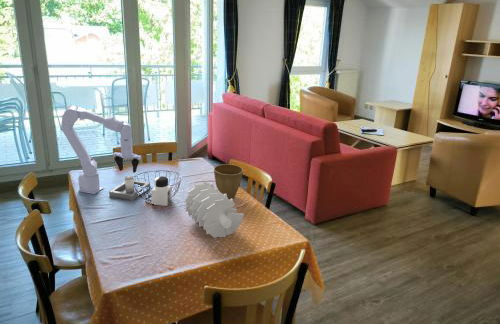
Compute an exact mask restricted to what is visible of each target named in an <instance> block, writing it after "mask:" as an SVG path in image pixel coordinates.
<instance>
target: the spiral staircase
mask: <svg viewBox="0 0 500 324" xmlns="http://www.w3.org/2000/svg"><path fill="white" fill-rule="evenodd" d="M187 194H188V196H187V197H186V198H185V200H184V203H185V204H186V205H185V212H187V214H188V217H191V219H193V220H194V223H195V224H196V223H198V225H199V226H198V227H200V228H201V227H203V230H205V233H206V235H210V236H211V237H213V238H214V239H217V238H226V236H230V235H231V234H233V233H235V232H236V230H237V229H238V228H239V227H240V226H241V224H242V221H243V218H244V216H245V213H238V212H237V210H238V209H237V208H233V207H236V204H235V202H234V199H230V200H229V199H228V198H227V194H222V193H221V192H220V191H219V190H218V188H217V186H216V187H214V184H213V182H210V183H208V182H207V181H203V182H202V183H196V184H195V185H194V187H193V188H192V189H190V190H188V191H187Z"/></svg>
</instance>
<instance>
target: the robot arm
mask: <svg viewBox="0 0 500 324" xmlns="http://www.w3.org/2000/svg"><path fill="white" fill-rule="evenodd" d="M78 120H79V121H84V120H89V121H92V122H96V123H98V124H101V125H103V127H104V128H105V129H108V130H110V131H114V132H116V133H119V135H120V139H119V140H120V152H113V155H112V156H113V158H114V161H115V163H116V164H117V166H118V169H119V171H121V172H122V171H123V170H124V163H123V162H124V159H131V160H130V161H131V166H132V173H134V174H135V173H136V172H137V168H138V165H139V163H140V161H141V160H142V155H138V154H136V153H133V152H134V151H133V137H132V134H133V129H132V125H131V124H130V123H129V122H127V121H123V120H119V119H116V118H115V116H111V117H110V116H107V117H105V116H102V115H100V114H97V113H94V112H92V111H90V110H88V109H85V108H84V107H79V106H77V105H74V104H73V105H68V106H67V107H66V109H65V111H64V113H63V115H62V116H61V124H60V125H61V127H60V129H61V131H62V133H63V134H64V136H65V137H66V139H67V141H68V143H69V144H70V146H71V147H72V149H73V151H74V153H75V154H76V156H77V158H78V159H79V163H80V166H81V167H82V172H81V173H80V174H79V175H78V187H79V188H78V192H81V193H87V194H92V195H94V194H97V193H99V191H102V190H103V189H104V187H103V186H100V174H99V171H98V161H96V160H95V159H94V158H93V157H92V155H91V154H89V153H88V151H87V149H86V147H85V145H84V143H83V142H82V140H81V139H80V137H79V135H78V133H77V131H76V130H75V128H74V126H75V123H77V121H78Z"/></svg>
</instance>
